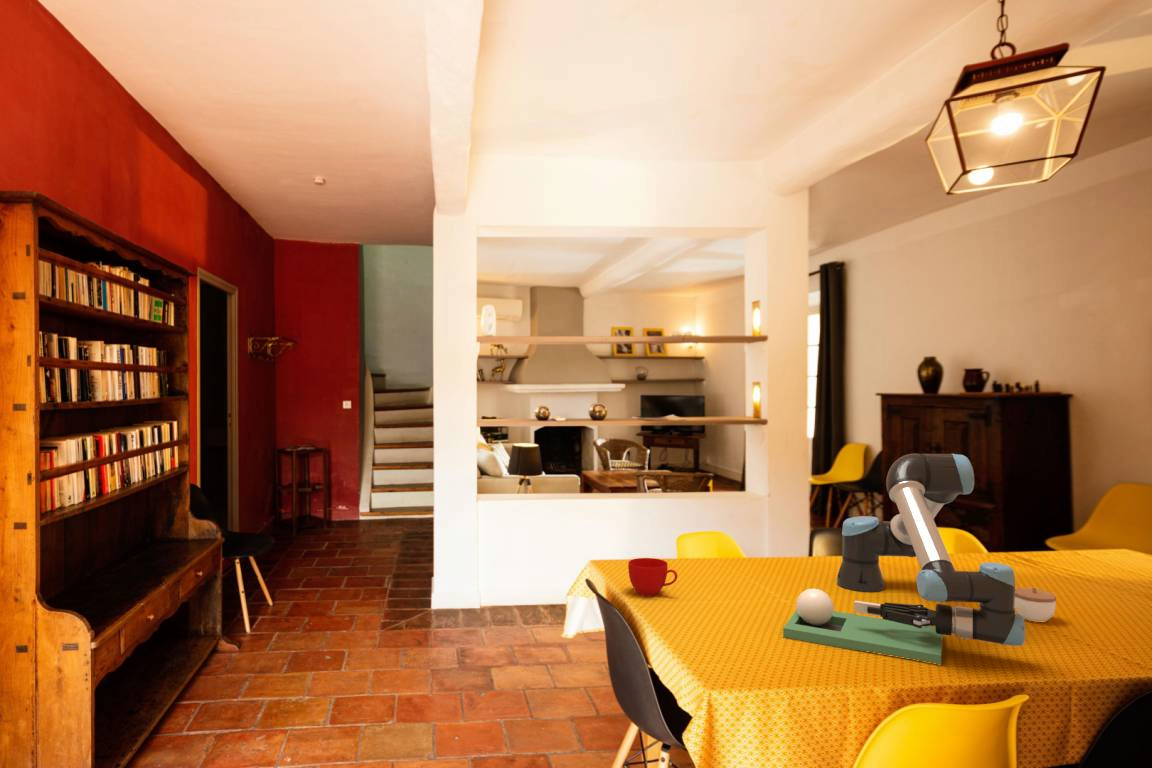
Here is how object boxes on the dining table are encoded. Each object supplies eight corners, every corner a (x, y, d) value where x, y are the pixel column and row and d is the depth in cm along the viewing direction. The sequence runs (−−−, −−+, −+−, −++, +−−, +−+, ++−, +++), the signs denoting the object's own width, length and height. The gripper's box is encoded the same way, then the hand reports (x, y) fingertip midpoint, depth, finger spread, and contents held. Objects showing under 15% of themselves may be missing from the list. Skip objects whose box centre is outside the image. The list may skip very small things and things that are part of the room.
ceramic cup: (668, 603, 215) (668, 571, 215) (621, 594, 224) (621, 564, 224) (684, 593, 226) (685, 562, 226) (639, 585, 235) (639, 556, 235)
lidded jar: (1004, 613, 207) (1004, 582, 207) (1037, 613, 208) (1037, 582, 208) (1030, 626, 196) (1030, 593, 196) (1065, 625, 197) (1065, 592, 197)
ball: (809, 609, 203) (837, 627, 195) (786, 618, 197) (815, 636, 189) (814, 579, 201) (843, 595, 192) (791, 586, 195) (821, 603, 187)
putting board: (942, 637, 187) (942, 628, 187) (941, 665, 168) (941, 655, 168) (799, 614, 205) (799, 605, 205) (783, 637, 186) (783, 628, 186)
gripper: (952, 643, 170) (851, 627, 181) (952, 627, 181) (857, 613, 193) (953, 613, 170) (851, 598, 181) (953, 599, 181) (857, 586, 193)
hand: (854, 606), depth 187 cm, fingers closed
